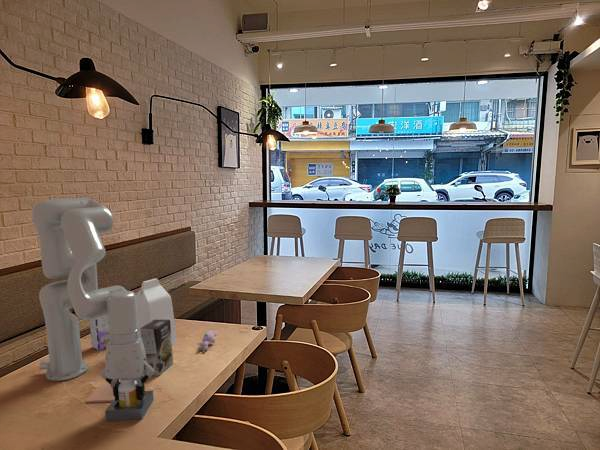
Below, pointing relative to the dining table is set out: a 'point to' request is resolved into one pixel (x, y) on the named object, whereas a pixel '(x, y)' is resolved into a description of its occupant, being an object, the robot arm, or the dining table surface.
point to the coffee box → (158, 345)
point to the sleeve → (129, 409)
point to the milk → (154, 306)
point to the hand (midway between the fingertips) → (129, 397)
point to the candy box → (99, 332)
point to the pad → (102, 394)
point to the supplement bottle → (128, 393)
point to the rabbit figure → (207, 341)
